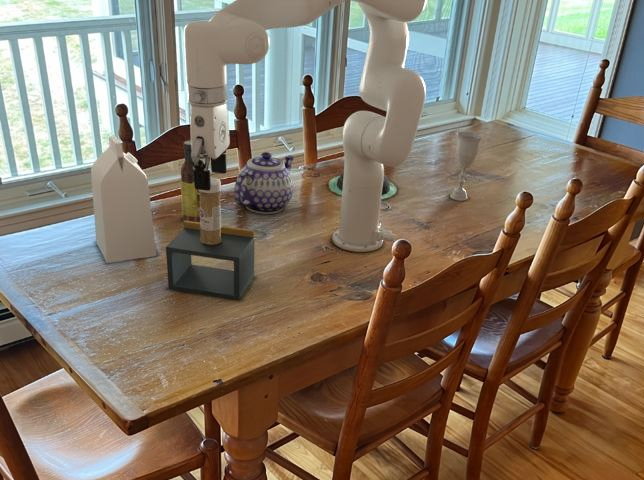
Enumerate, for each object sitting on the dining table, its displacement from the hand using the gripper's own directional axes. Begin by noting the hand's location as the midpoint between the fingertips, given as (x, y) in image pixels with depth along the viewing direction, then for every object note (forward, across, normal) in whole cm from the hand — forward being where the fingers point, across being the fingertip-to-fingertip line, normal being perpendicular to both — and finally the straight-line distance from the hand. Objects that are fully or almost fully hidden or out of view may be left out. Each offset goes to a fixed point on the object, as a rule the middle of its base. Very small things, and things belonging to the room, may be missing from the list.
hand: (211, 180), depth 146 cm
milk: (+23, +9, +26) cm, 36 cm away
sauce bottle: (+24, +31, +17) cm, 43 cm away
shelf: (+23, -1, +1) cm, 23 cm away
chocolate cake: (+25, +69, -21) cm, 77 cm away
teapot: (+24, +45, +2) cm, 51 cm away
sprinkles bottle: (+14, 0, 0) cm, 14 cm away
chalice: (+25, +71, -49) cm, 90 cm away
